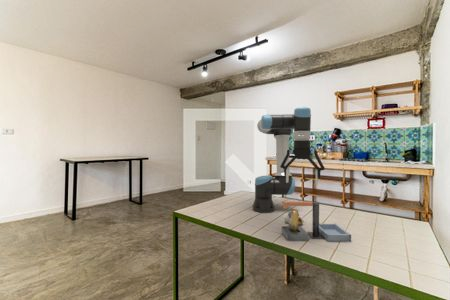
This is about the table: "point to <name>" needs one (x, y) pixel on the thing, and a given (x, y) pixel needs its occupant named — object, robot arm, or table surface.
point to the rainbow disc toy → (288, 219)
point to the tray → (334, 233)
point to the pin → (294, 220)
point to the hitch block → (294, 234)
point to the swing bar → (300, 204)
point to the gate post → (315, 225)
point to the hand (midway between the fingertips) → (301, 183)
